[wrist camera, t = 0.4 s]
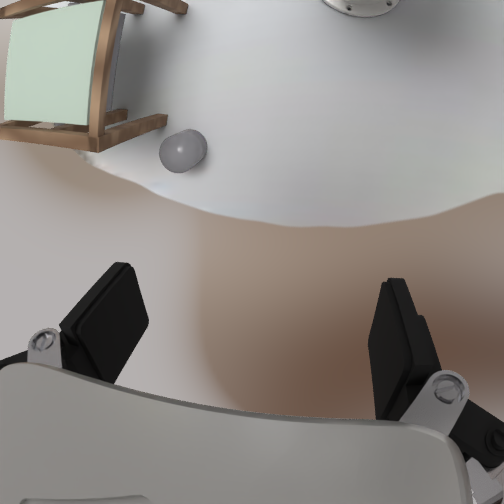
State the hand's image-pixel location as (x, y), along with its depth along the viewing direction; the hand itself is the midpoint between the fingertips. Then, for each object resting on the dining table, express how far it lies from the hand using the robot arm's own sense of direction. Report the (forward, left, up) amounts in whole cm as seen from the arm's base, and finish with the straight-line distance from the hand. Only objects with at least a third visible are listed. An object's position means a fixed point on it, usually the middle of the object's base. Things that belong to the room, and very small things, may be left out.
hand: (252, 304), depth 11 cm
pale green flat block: (-7, -30, -23) cm, 38 cm away
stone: (+5, -14, -34) cm, 37 cm away
